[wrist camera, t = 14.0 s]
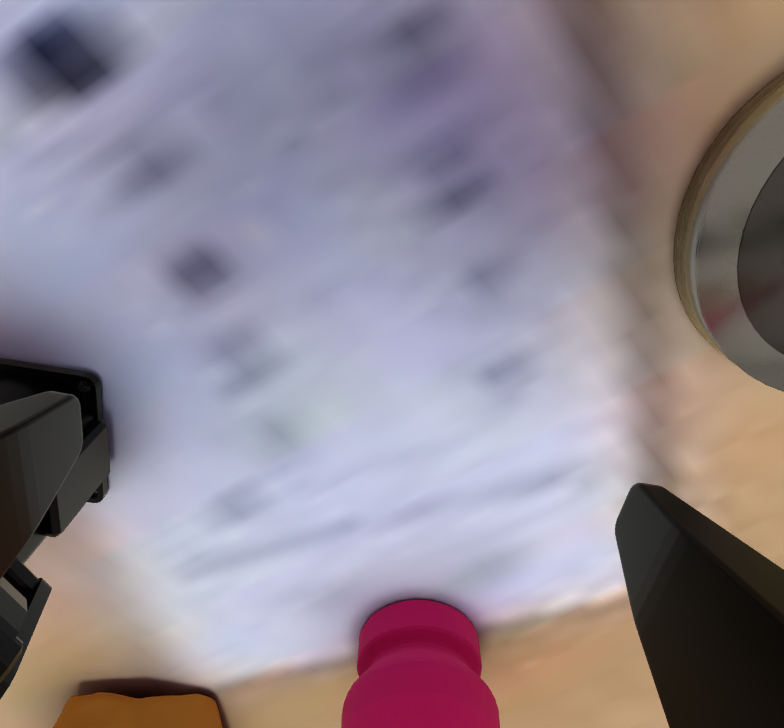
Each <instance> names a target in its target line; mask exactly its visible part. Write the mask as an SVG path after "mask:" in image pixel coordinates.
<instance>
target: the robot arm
mask: <svg viewBox="0 0 784 728" xmlns="http://www.w3.org/2000/svg"><path fill="white" fill-rule="evenodd" d="M83 382H86V383H87V384H88V385H89V387H90V388H87V387H85V386H84V385H83ZM109 473H110V461H109V445H108V429H107V426H106V424H105V422H104V421H103V410H102V395H101V383H100V380H99V379H98V377H97V376H95V375H94V374H93V373H89V372H85V371H78V370H72V369H66V368H59V367H53V366H46V365H40V364H34V363H27V362H21V361H14V360H8V359H2V358H0V699H1V697H2V696H3V695H4V693H5V692H6V690H7V689H8V687H9V686H10V684H11V682H12V680H13V678H14V676H15V674H16V672H17V670H18V668H19V665H20V663H21V661H22V658H23V656H24V653H25V651H26V649H27V646H28V644H29V642H30V639H31V637H32V635H33V632H34V630H35V627H36V625H37V623H38V620H39V618H40V616H41V613H42V611H43V609H44V606H45V604H46V601H47V599H48V597H49V594H50V592H51V590H52V588H51V587H50V586H49V585H48V584H47V583H46V582H45V581H44V580H43V579H42V578H39V579H38V578H37V577H36V576H35V575H34V574H33V573H32V572H31V571H30V570H29V569H28V568H27V567H26V566H25V565H24V563H25V562H26V561H27V559H28V558H29V557H30V556H31V554H32V553H33V552H34V551H35V550H36V548H37V547H38V546H39V545H40V544H41V542H42V541H43V540H44V539H45V537H46V536H50V537H56V536H58V535H59V534H61V533H62V532H63V531H64V530H65V528H66V527H67V526H68V525H69V523H70V522H71V521H72V520H73V518H74V517H75V516H76V515H77V513H78V512H79V511H80V510H81V508H82V507H83V506H84V504H85V503H86V502H91V503H98V502H100V501H101V500H102V499H103V498H104V497H105V495H106V494H107V491H108V486H107V476H108V474H109ZM95 491H96V492H97V493H96V492H95ZM615 536H616V541H617V545H618V550H619V554H620V559H621V564H622V568H623V573H624V577H625V582H626V587H627V591H628V596H629V600H630V605H631V609H632V613H633V617H634V621H635V624H636V628H637V631H638V634H639V637H640V640H641V643H642V646H643V649H644V652H645V655H646V658H647V661H648V664H649V667H650V670H651V673H652V676H653V679H654V682H655V685H656V688H657V691H658V694H659V697H660V700H661V703H662V706H663V709H664V712H665V715H666V718H667V721H668V724H669V727H670V728H784V570H783V569H782V568H780V567H779V566H777V565H776V564H775V563H773V562H772V561H770V560H769V559H767V558H766V557H764V556H763V555H761V554H760V553H758V552H757V551H756V550H754V549H753V548H751V547H750V546H748V545H747V544H745V543H744V542H742V541H741V540H739V539H738V538H737V537H735V536H734V535H732V534H731V533H729V532H728V531H726V530H725V529H723V528H722V527H720V526H719V525H718V524H716V523H715V522H713V521H712V520H710V519H709V518H707V517H706V516H704V515H703V514H701V513H700V512H699V511H697V510H696V509H694V508H693V507H691V506H690V505H688V504H687V503H685V502H684V501H682V500H681V499H680V498H678V497H677V496H675V495H674V494H672V493H671V492H669V491H668V490H666V489H665V488H663V487H661V486H658V485H652V484H645V483H636V484H634V485H633V486H632V487H631V489H630V491H629V493H628V495H627V498H626V500H625V502H624V504H623V507H622V509H621V511H620V514H619V516H618V518H617V521H616V525H615Z"/></svg>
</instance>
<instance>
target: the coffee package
mask: <svg viewBox="0 0 784 728" xmlns="http://www.w3.org/2000/svg"><path fill="white" fill-rule="evenodd" d="M53 728H223V727H222V724H221V719H220V715H219V711H218V708H217V704H216V702H215V701H214V700H213V699H212V698H210V697H207V696H204V695H201V694H189V695H181V696H156V697H147V698H139V699H136V698H132V697H128V696H124V695H119V694H115V693H106V692H98V693H94V694H90V695H83V696H72V697H71V698H70V699H69V700H68V702H67V703H66V705H65V707H64V709H63V711H62V713H61V715H60V717H59V718H58V720H57V722H56V723H55V725H54V727H53Z"/></svg>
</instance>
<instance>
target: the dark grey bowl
mask: <svg viewBox="0 0 784 728" xmlns="http://www.w3.org/2000/svg"><path fill="white" fill-rule="evenodd" d="M674 268H675V279H676V283H677V287H678V291H679V295H680V299H681V301H682V303H683V306H684V308H685V310H686V313H687V315H688V316H689V318H690V320H691V321H692V323H693V324H694V326H695V328H696V329H697V330H698V331H699V332H700V334H701V335H702V336H703V337H704V338H705V339H706V340H707V341H708V342H709V343H710V344H711V345H712V346H714V347H715V348H716V349H717V350H719V351H720V352H721V353H722V354H723V355H725V356H726V357H727V358H728V359H730V360H731V361H732V362H733V363H735V364H736V365H737V366H738V367H740V368H741V369H742V370H743V371H745V372H746V373H747V374H748V375H750V376H751V377H753V378H755V379H757V380H758V381H760V382H762V383H764V384H765V385H768V386H770V387H773V388H776V389H778V390H781V391H783V392H784V73H782V74H781V75H780V76H778V77H777V78H776V79H774V80H773V81H771V82H770V83H769V84H767V85H766V86H765V87H764V88H763V89H762V90H761V91H760V92H758V93H757V94H756V95H755V96H754V97H753V98H752V99H751V100H750V101H748V102H747V103H746V104H745V105H744V106H743V107H742V108H741V110H740V111H739V112H738V113H737V114H736V115H735V116H734V117H733V118H732V120H731V121H730V122H729V123H728V124H727V125H726V126H725V128H724V129H723V130H722V132H721V133H720V134H719V136H718V137H717V139H716V140H715V141H714V143H713V144H712V145H711V147H710V148H709V150H708V152H707V153H706V155H705V157H704V158H703V160H702V162H701V163H700V165H699V167H698V169H697V170H696V172H695V175H694V177H693V179H692V181H691V184H690V186H689V188H688V190H687V193H686V195H685V199H684V202H683V205H682V208H681V211H680V214H679V219H678V224H677V229H676V235H675V245H674Z"/></svg>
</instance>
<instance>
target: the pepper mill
mask: <svg viewBox="0 0 784 728" xmlns="http://www.w3.org/2000/svg"><path fill="white" fill-rule="evenodd" d="M481 670H482V665H481V656H480V648H479V640H478V636H477V632H476V630H475V628H474V626H473V625H472V623H471V622H470V621H469V620H468V619H467V618H466V617H465V616H464V615H463V614H462V613H460V612H459V611H457V610H456V609H454V608H453V607H451V606H448V605H445V604H442V603H439V602H436V601H430V600H408V601H400V602H397V603H394V604H391V605H388V606H386V607H384V608H383V609H381V610H379V611H378V612H376V613H374V614H373V615H372V616H371V617H370V618H369V619H368V621H367V622H366V623H365V625H364V626H363V628H362V630H361V633H360V638H359V650H358V661H357V671H358V675H359V678H358V679H357V680H356V681H355V682H354V684H353V685H352V687H351V689H350V690H349V692H348V694H347V696H346V699H345V701H344V706H343V712H342V727H341V728H500V722H499V711H498V707H497V704H496V700H495V698H494V696H493V694H492V692H491V690H490V689H489V687H488V686H487V685H486V683H485V682H484V681H483V680H482V679H481V678H480V676H481Z"/></svg>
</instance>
